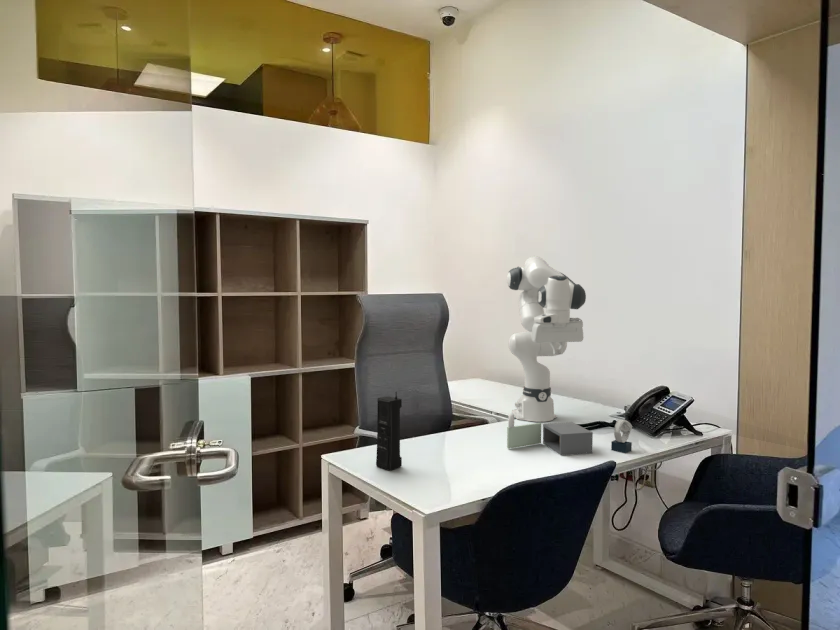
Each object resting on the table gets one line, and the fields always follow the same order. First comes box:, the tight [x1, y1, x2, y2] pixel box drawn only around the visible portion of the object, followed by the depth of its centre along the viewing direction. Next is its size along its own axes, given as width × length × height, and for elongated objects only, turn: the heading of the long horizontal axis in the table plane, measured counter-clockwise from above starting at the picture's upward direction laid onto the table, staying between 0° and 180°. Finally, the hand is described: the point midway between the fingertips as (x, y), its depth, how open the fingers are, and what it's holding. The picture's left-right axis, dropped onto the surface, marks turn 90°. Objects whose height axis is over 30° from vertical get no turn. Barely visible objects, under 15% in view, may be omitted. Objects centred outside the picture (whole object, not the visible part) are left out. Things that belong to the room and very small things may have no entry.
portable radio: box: [375, 392, 403, 472], centre depth 178 cm, size 8×6×25 cm
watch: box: [610, 419, 633, 454], centre depth 195 cm, size 6×8×11 cm
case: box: [542, 421, 594, 456], centre depth 198 cm, size 15×12×8 cm
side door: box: [506, 413, 542, 450], centre depth 200 cm, size 15×2×12 cm, turn 117°
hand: (557, 353), depth 209 cm, fingers closed
